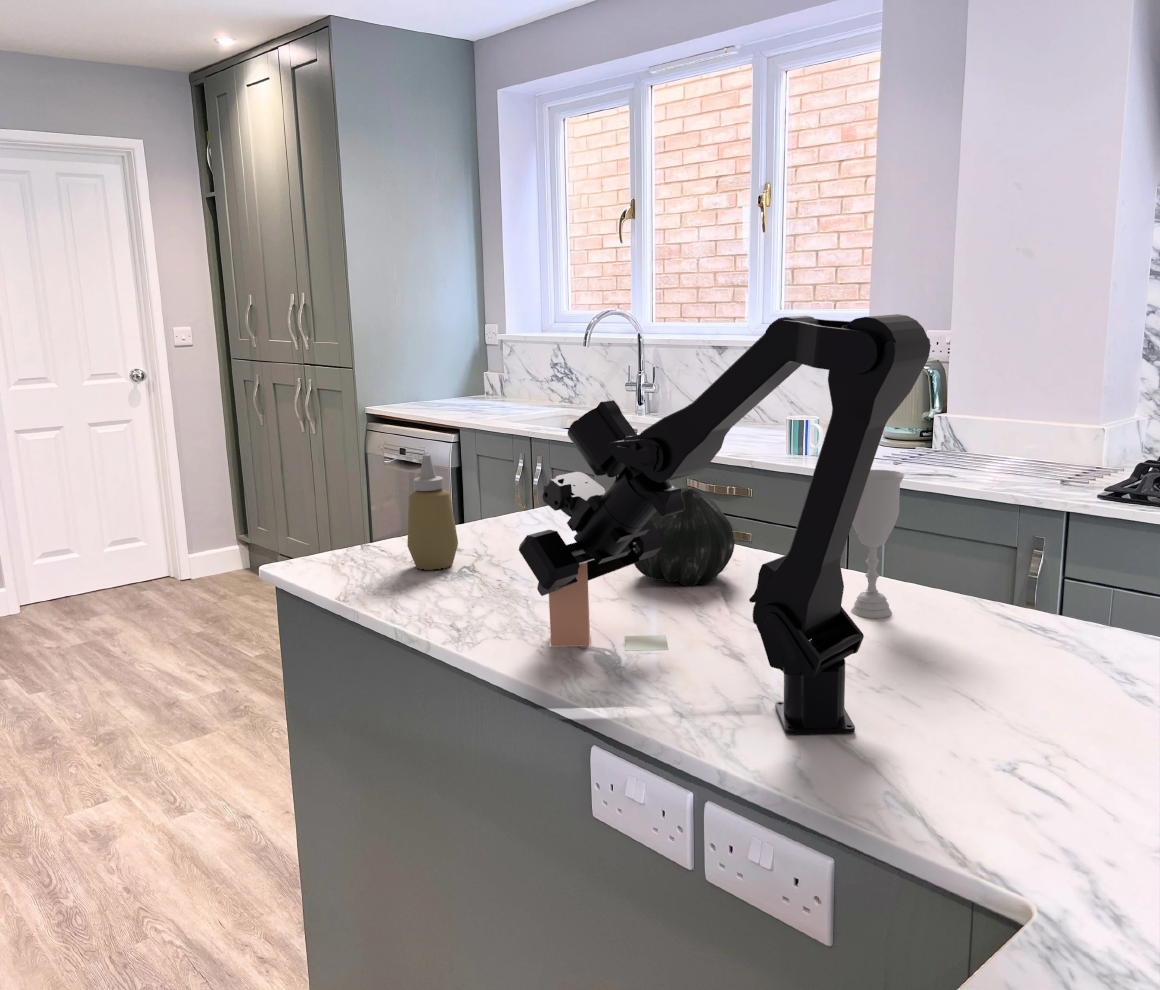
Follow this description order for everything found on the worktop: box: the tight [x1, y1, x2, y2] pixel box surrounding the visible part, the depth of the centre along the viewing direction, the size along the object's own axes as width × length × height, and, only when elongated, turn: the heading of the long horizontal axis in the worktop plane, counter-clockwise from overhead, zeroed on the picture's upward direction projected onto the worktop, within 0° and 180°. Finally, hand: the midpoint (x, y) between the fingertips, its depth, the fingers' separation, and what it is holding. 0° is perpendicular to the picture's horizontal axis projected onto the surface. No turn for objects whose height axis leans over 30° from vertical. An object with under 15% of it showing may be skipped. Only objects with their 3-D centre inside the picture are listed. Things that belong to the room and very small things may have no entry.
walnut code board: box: [548, 630, 669, 652], centre depth 114 cm, size 8×14×1 cm, turn 88°
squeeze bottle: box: [407, 454, 459, 571], centre depth 152 cm, size 8×8×18 cm
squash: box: [633, 486, 735, 588], centre depth 139 cm, size 14×15×15 cm
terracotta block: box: [548, 562, 591, 645], centre depth 115 cm, size 4×4×10 cm
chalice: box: [850, 469, 905, 619], centre depth 122 cm, size 7×7×18 cm
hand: (560, 585), depth 115 cm, fingers closed on terracotta block, 6 cm apart
